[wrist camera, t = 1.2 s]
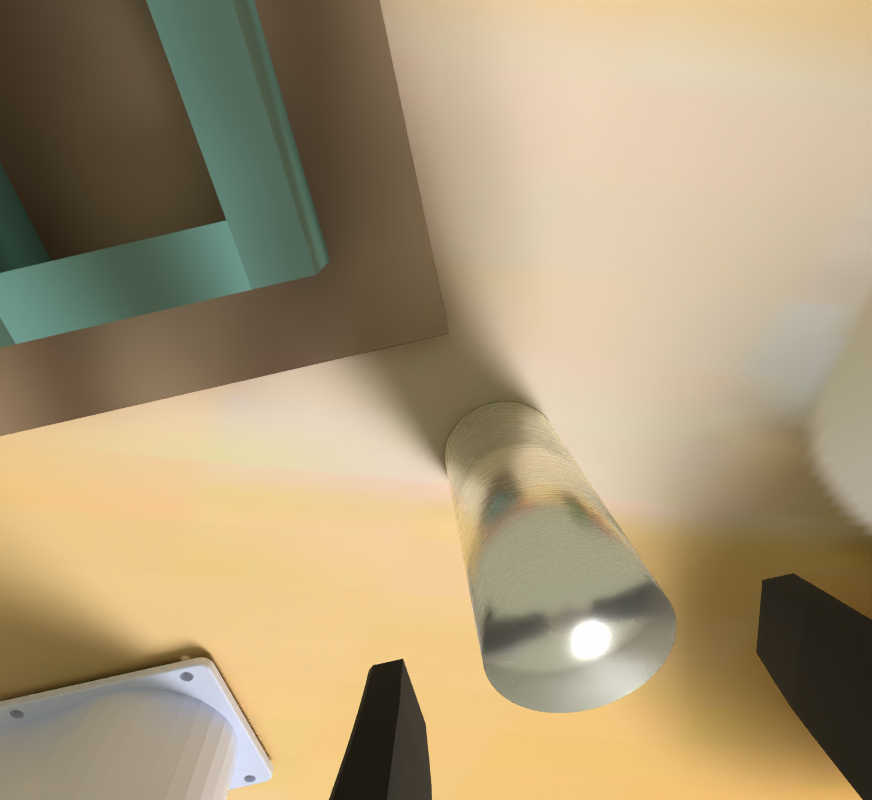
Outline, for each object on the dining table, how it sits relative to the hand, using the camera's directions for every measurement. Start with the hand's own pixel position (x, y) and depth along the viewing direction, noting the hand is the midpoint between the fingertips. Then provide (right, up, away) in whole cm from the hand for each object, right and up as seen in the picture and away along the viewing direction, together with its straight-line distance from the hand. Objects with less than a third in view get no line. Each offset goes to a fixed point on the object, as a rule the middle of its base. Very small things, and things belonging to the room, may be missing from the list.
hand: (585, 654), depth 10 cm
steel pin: (-1, +3, +8) cm, 8 cm away
